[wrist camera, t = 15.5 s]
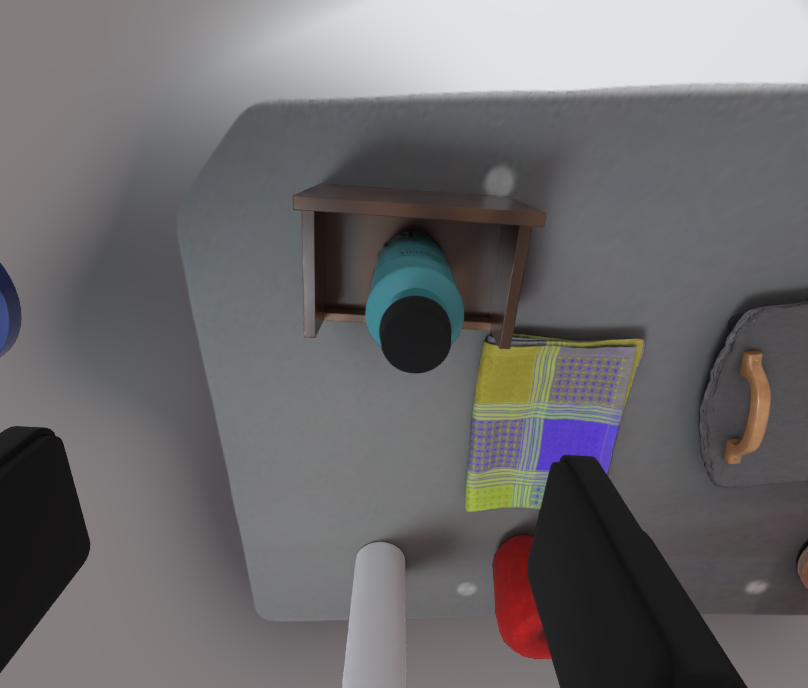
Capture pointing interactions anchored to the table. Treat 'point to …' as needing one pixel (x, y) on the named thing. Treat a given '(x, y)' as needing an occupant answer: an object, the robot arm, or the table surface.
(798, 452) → the serving tray
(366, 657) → the spray bottle
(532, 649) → the apple
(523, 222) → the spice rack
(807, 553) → the donut
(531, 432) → the dish towel
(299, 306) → the table surface
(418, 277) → the beverage bottle
